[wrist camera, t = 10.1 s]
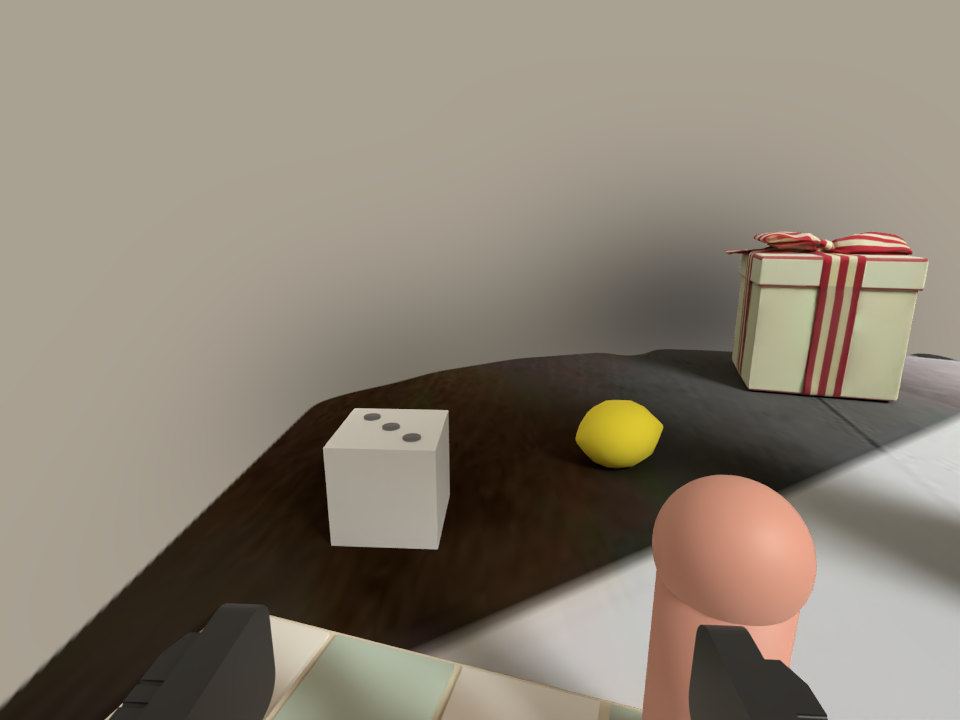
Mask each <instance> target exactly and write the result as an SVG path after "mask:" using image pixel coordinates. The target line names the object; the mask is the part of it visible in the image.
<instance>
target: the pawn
mask: <svg viewBox="0 0 960 720" xmlns="http://www.w3.org/2000/svg"><path fill="white" fill-rule="evenodd" d="M652 549H653V557H654V562H655V565H656V568H657V572H656V582H655V592H654V602H653V612H652V622H651V632H650V642H649V652H648V662H647V672H646V682H645V692H644V702H643V712H642V720H691V718H690V711H689V685H690V677H691V669H692V662H693V654H694V646H695V638H696V632H697V628H698V627H699V625H701V624H703V625H727V626H743V627H745V628H746V629H747V630H748V632H749V633H750V635H751V637H752V638H753V640H754V642H755V643H756V645H757V647H758V649H759V650H760V652H761V654H762V656H763V657H764V659H772V660H781V661H782V662H783V663H784V664H785V665H786V666H787V667H788V668H789V666H790V661H791V656H792V650H793V645H794V639H795V634H796V629H797V623H798V618H799V612H800V610H801V608H802V607H803V606H804V605H805V603H806V602H807V600H808V598H809V596H810V594H811V592H812V590H813V586H814V583H815V578H816V571H817V562H816V551H815V547H814V543H813V540H812V537H811V535H810V532H809V530H808V528H807V526H806V524H805V523H804V521H803V519H802V518H801V516H800V515H799V513H798V512H797V511H796V510H795V509H794V507H793V506H792V505H791V504H790V503H789V502H788V501H787V500H785V499H784V498H783V497H782V496H781V495H780V494H778V493H777V492H775V491H774V490H772V489H771V488H769V487H767V486H765V485H764V484H761V483H759V482H757V481H754V480H751V479H748V478H744V477H740V476H734V475H712V476H707V477H702V478H699V479H696V480H694V481H691V482H689V483H687V484H685V485H684V486H682V487H681V488H679V489H678V490H677V491H675V492H674V493H673V494H672V495H671V496H670V497H669V498H668V500H667V501H666V502H665V503H664V505H663V506H662V508H661V510H660V512H659V514H658V516H657V519H656V522H655V524H654V530H653V536H652Z"/></svg>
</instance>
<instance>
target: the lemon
mask: <svg viewBox="0 0 960 720" xmlns="http://www.w3.org/2000/svg"><path fill="white" fill-rule="evenodd" d="M662 430H663V425H662V423H661V422H660V421H659V420H657V419H656V418H655V417H654V416H653V415H652V414H651V413H650V412H649V411H648V410H647V409H646V408H645V407H644V406H642V405H639V404H637V403H635V402H633V401H631V400H607V401H604V402H602V403H600V404H598V405H596V406H594V407H593V408H592V409H591V410H590V411H589V412H588V413H587V414H586V415H585V417H584V418H583V420H582V421H581V423H580V425H579V428H578V431H577V434H576V439H575V440H576V442H577V444H578V446H579V447H580V448H581V449H582V451H583V452H584V453H585V454H586V455H587V456H588V457H589V458H590V459H591V460H592V461H593V462H595V463H598V464H600V465H603V466H605V467H608V468H616V469H618V468H626V467H633V466H634V465H636V464H638V463H639V462H641V461H643V460H644V459H645V458H647V457H648V456H650V455H651V454H652V453H653V451H654V449H655V447H656V445H657V443H658V440H659V437H660V435H661V432H662Z"/></svg>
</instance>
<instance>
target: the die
mask: <svg viewBox="0 0 960 720" xmlns="http://www.w3.org/2000/svg"><path fill="white" fill-rule="evenodd" d="M323 453H324V465H325V477H326V489H327V501H328V513H329V525H330V537H331V546H355V547H385V548H414V549H438V546H439V541H440V537H441V532H442V528H443V523H444V519H445V514H446V510H447V505H448V500H449V496H450V478H449V418H448V410H412V409H363V408H354V410H353V411H352V412H351V413H350V415H349V416H348V417H347V419H346V420H345V421H344V422H343V424H342V425H341V426H340V427H339V429H338V430H337V431H336V432H335V434H334V435H333V436H332V437H331V439H330V440H329V441H328V442H327V444H326V445H325V446H324V447H323Z"/></svg>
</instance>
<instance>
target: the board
mask: <svg viewBox="0 0 960 720" xmlns="http://www.w3.org/2000/svg"><path fill="white" fill-rule="evenodd" d="M269 616H270V625H271V634H272V643H273V652H274V661H275V671H276V675H275V685H274V691H273V695H272V699H271V702H270V705H269V707H268V710H267V712H266V714H265V716H264V718H263V720H642V712H643V710H642V709H638V708H634V707H630V706H626V705H622V704H618V703H614V702H610V701H606V700H602V699H598V698H594V697H591V696H587V695H583V694H579V693H575V692H571V691H567V690H563V689H559V688H555V687H551V686H547V685H543V684H539V683H535V682H531V681H527V680H523V679H519V678H516V677H512V676H508V675H504V674H500V673H496V672H492V671H488V670H484V669H480V668H476V667H472V666H468V665H464V664H460V663H456V662H452V661H448V660H444V659H441V658H437V657H433V656H429V655H425V654H421V653H417V652H413V651H409V650H405V649H401V648H397V647H393V646H389V645H385V644H381V643H377V642H373V641H369V640H366V639H362V638H358V637H354V636H350V635H346V634H342V633H338V632H334V631H330V630H326V629H322V628H318V627H314V626H310V625H306V624H302V623H298V622H294V621H291V620H287V619H283V618H279V617H275V616H271V615H269ZM203 629H204V628H203ZM203 629H202V630H203ZM202 630H201V631H202ZM201 631H200V632H201ZM122 705H123V703H122V704H121V705H120V706H119V707H122ZM116 710H117V709H116ZM116 710H115V711H116ZM115 711H114V712H115ZM114 712H113V713H114ZM113 713H112V714H111V715H109V716H108V717H107V718H106V719H105V720H109V718H110V717H111V716H112V715H113Z"/></svg>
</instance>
